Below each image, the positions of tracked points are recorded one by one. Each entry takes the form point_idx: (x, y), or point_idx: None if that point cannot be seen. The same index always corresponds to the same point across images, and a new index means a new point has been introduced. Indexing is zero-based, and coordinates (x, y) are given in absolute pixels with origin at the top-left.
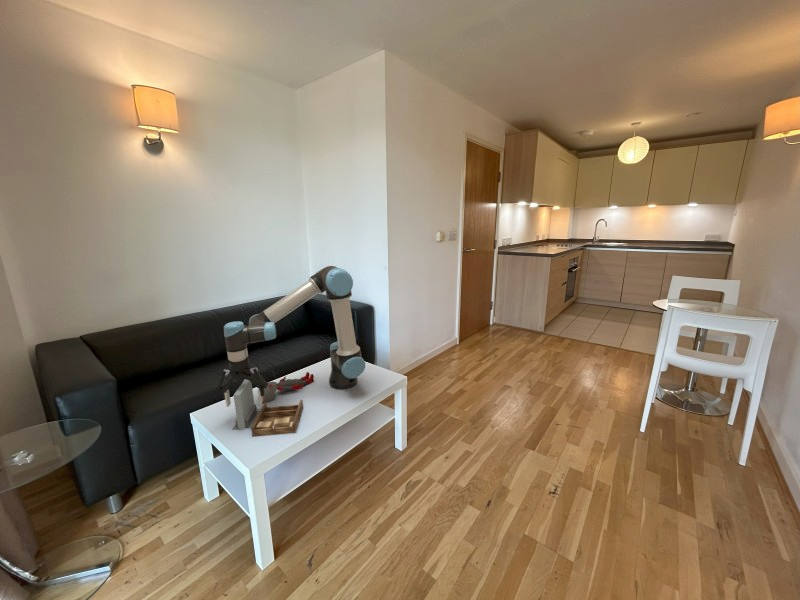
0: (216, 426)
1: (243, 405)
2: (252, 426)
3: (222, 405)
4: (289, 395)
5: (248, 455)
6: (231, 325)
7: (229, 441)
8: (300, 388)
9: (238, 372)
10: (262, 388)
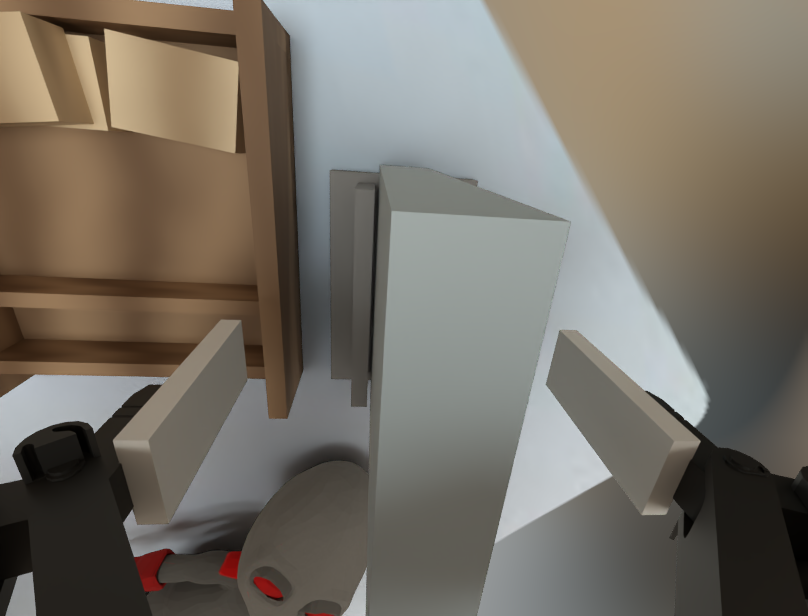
0: (587, 268)
1: (380, 240)
2: (255, 23)
3: (581, 469)
4: (208, 515)
5: None
6: None
7: (468, 43)
8: None
9: None
10: (35, 474)
